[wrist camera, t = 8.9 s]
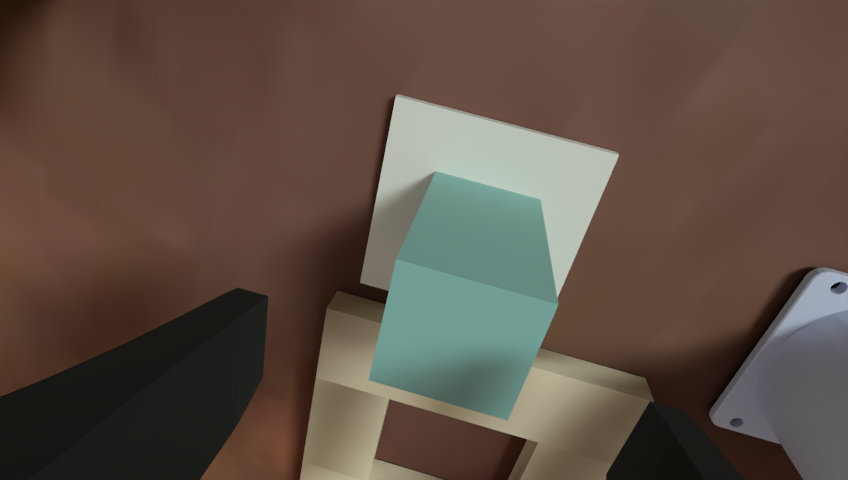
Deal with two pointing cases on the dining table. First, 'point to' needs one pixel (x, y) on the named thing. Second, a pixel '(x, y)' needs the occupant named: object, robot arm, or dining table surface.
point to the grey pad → (482, 178)
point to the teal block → (468, 298)
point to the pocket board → (464, 409)
